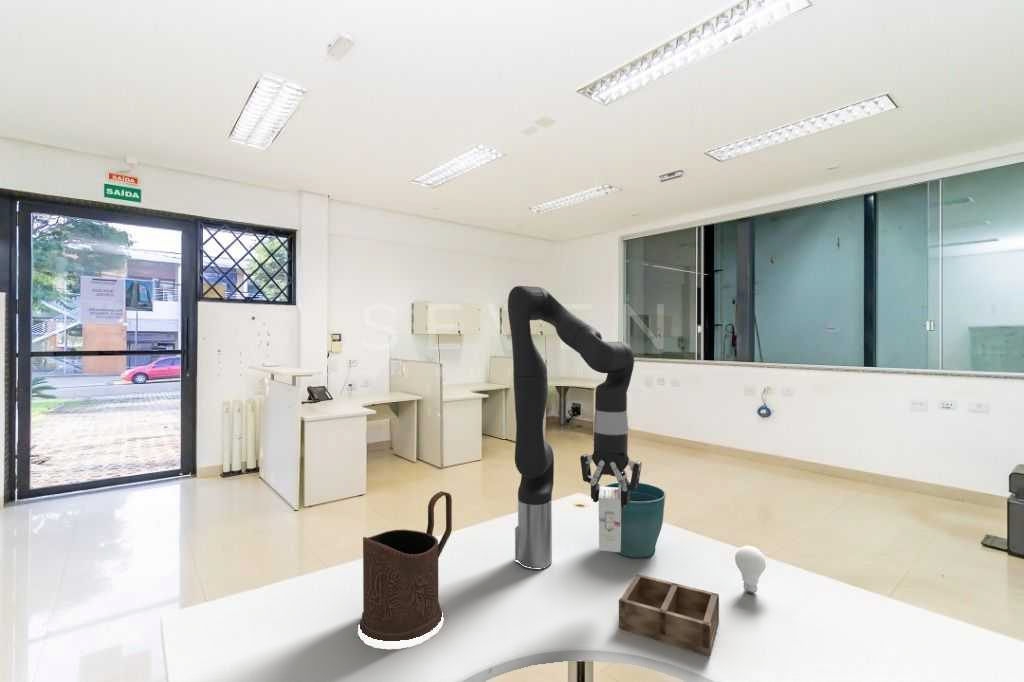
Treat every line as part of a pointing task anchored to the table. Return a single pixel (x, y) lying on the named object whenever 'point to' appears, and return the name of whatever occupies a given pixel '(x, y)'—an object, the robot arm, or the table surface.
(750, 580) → the light bulb
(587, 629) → the table surface
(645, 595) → the walnut rack
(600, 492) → the ink cartridge box
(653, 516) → the flower pot
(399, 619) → the cup holder
